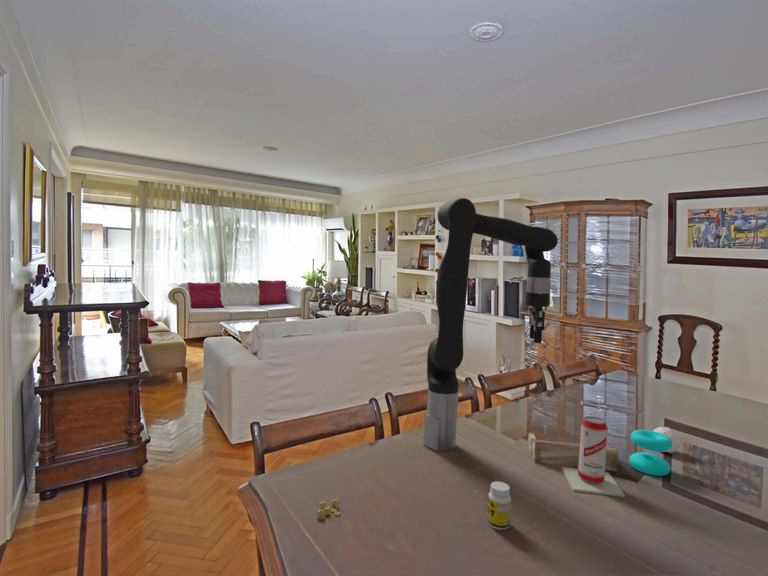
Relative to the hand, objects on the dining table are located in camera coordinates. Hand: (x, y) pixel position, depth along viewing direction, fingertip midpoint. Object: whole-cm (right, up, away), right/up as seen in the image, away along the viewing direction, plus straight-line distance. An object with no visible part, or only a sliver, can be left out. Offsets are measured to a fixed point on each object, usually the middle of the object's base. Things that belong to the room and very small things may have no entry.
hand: (535, 340), depth 141 cm
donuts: (+26, -34, -19) cm, 47 cm away
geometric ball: (+38, -34, -6) cm, 52 cm away
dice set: (-62, -33, -46) cm, 84 cm away
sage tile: (+5, -34, -28) cm, 44 cm away
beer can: (+5, -33, -28) cm, 44 cm away
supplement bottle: (-25, -34, -49) cm, 64 cm away
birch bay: (+6, -33, -13) cm, 36 cm away
